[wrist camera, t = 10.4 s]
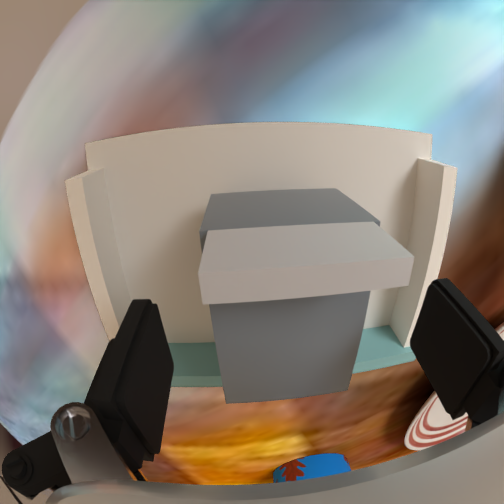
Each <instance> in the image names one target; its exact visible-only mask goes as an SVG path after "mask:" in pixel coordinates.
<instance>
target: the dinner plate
mask: <svg viewBox="0 0 504 504" xmlns="http://www.w3.org/2000/svg"><path fill="white" fill-rule="evenodd" d="M495 331H496V332H497V333H498V334H499V335H500V337H501V338H502V339H503V340H504V322H503V323H502V324H501V325H499V326H498V327H497V328H496V329H495ZM467 418H468V414H467V412H466V413H465V414H464V415H463V416H462V417H459V418H457V419H455V420H452V418H451V416H450V414H448V413H446V411H445V409H444V407H443V405H442V404H441V402H440V400H439V398H438V396H437V394H436V392H435V391H434V392H433V393H432V394H431V395H430V397H429V398H428V399H427V400H426V402H425V403H424V405H423V406H422V407H421V409H420V410H419V411H418V413H417V414H416V416H415V417H414V419H413V421H412V422H411V424H410V426H409V428H408V430H407V432H406V435H405V439H404V442H405V446H406V447H407V448H409V449H411V450H423V449H426V448H429V447H431V446H434V445H436V444H439V443H441V442H444V441H446V440H448V439H451V438H453V437H455V436H457V435H459V434H462V433H464V432H465V428H466V423H467Z"/></svg>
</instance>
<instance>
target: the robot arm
mask: <svg viewBox="0 0 504 504" xmlns="http://www.w3.org/2000/svg"><path fill="white" fill-rule="evenodd" d="M410 348H411V350H412V351H413V353H414V355H415V356H416V358H417V360H418V362H419V363H420V365H421V367H422V369H423V370H424V372H425V374H426V376H427V378H428V379H429V381H430V383H431V385H432V387H433V388H434V390H435V392H436V394H437V396H438V398H439V400H440V402H441V404H442V405H443V407H444V409H445V411H446V413H448V414H450V416H451V418H452V420H455V419H457V418H459V417H462V416H463V415H464V414H465V413H466V412H467V414H468V418H467V423H466V428H465V432H464V433H462V434H459V435H457V436H455V437H453V438H451V439H448V440H446V441H444V442H441V443H439V444H436V445H434V446H431V447H429V448H426V449H423V450H421V451H418V452H415V453H412V454H409V455H407V456H404V457H401V458H397V459H394V460H391V461H388V462H384V463H381V464H377V465H374V466H370V467H366V468H362V469H358V470H354V471H349V472H345V473H340V474H335V475H329V476H324V477H318V478H312V479H305V480H298V481H289V482H280V483H268V484H252V485H188V484H173V483H159V482H148V480H147V479H146V477H145V476H144V475H143V473H142V472H141V470H140V468H142V462H143V460H145V461H153V460H154V454H158V453H159V452H160V448H161V441H162V435H163V429H164V422H165V416H166V410H167V405H168V399H169V393H170V388H171V382H172V377H173V372H174V362H173V358H172V355H171V352H170V348H169V345H168V342H167V338H166V335H165V331H164V327H163V324H162V320H161V316H160V312H159V309H158V305H157V304H156V303H152V301H151V300H150V299H133V300H132V302H131V304H130V306H129V308H128V310H127V312H126V314H125V317H124V319H123V321H122V323H121V325H120V328H119V330H118V332H117V334H116V337H115V338H113V339H111V340H110V342H109V343H108V346H107V348H106V350H105V353H104V355H103V357H102V360H101V362H100V364H99V367H98V369H97V371H96V374H95V376H94V379H93V381H92V384H91V386H90V389H89V391H88V394H87V396H86V399H85V402H84V404H83V403H79V402H72V403H69V404H65V405H64V406H62V407H60V408H59V409H58V410H57V411H56V412H55V413H54V415H53V417H52V419H51V425H50V427H51V431H50V432H48V433H46V434H44V435H42V436H40V437H38V438H37V439H35V440H33V441H31V442H29V443H27V444H25V445H23V446H21V447H19V448H17V449H15V450H13V451H11V452H10V453H8V454H7V456H6V457H5V458H4V461H3V464H2V475H0V504H504V340H503V339H502V338H501V337H500V335H499V334H498V333H497V332H496V331H495V329H494V328H493V327H492V326H491V325H490V324H489V322H488V321H487V320H486V319H485V318H484V317H483V316H482V314H481V313H480V312H479V311H478V310H477V309H476V308H475V307H474V305H473V304H472V303H471V302H470V301H469V300H468V299H467V298H466V297H465V296H464V295H463V294H462V293H461V292H460V290H459V289H458V288H457V287H456V286H455V285H454V284H453V283H452V282H451V281H450V280H449V279H447V278H444V279H436V280H433V281H432V282H431V284H430V285H429V286H428V288H427V291H426V295H425V298H424V301H423V304H422V307H421V310H420V313H419V316H418V319H417V322H416V325H415V328H414V330H413V333H412V336H411V338H410Z"/></svg>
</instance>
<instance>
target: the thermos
mask: <svg viewBox="0 0 504 504" xmlns="http://www.w3.org/2000/svg"><path fill="white" fill-rule="evenodd" d="M349 471H351V469H350V466H349V463H348V460H347V458H346V457H345V456H344V455H340V454H336V453H335V454H319V455H311V456H307V457H303V458H299V459H296V460H293V461H290V462H287V463H285V464H283V465H281V466H280V467H278V468H277V469H276V470H275V471H274V472H273V478H274V483H280V482H289V481H298V480H305V479H312V478H318V477H324V476H329V475H335V474H340V473H345V472H349Z"/></svg>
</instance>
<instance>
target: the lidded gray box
mask: <svg viewBox="0 0 504 504" xmlns="http://www.w3.org/2000/svg"><path fill="white" fill-rule="evenodd" d="M199 234H200V243H201V250H202V258H201V262H200V267H199V271H198V276H199V282H200V289H201V295H202V301H203V304H209V308H210V314H211V321H212V327H213V333H214V339H215V345H216V351H217V357H218V362H219V368H220V374H221V379H222V384H223V390H224V395H225V400H226V404H228V403H248V402H262V401H274V400H284V399H293V398H301V397H309V396H316V395H323V394H329V393H335V392H341V391H346V390H348V387H349V383H350V380H351V376H352V372H353V369H354V365H355V361H356V357H357V353H358V349H359V345H360V340H361V336H362V332H363V327H364V322H365V318H366V313H367V308H368V302H369V297H370V292H371V290H379V289H387V288H394V287H402V286H408V285H409V281H410V276H411V272H412V267H413V262H414V256H413V255H412V254H411V253H410V252H409V251H407V250H406V249H405V248H404V247H403V246H402V245H401V244H399V243H398V242H397V241H396V240H395V239H394V238H392V237H391V236H390V235H389V234H388V233H387V232H385V231H384V230H383V229H382V228H381V227H380V221H379V220H378V219H377V218H375V217H374V216H373V215H372V214H370V213H369V212H368V211H366V210H365V209H364V208H362V207H361V206H360V205H358V204H357V203H356V202H354V201H353V200H352V199H350V198H349V197H347V196H346V195H345V194H343V193H342V192H341V191H339V190H338V189H336V188H323V189H289V190H267V191H248V192H233V193H219V194H211V196H210V199H209V202H208V205H207V208H206V211H205V214H204V217H203V220H202V224H201V227H200V230H199Z"/></svg>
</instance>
